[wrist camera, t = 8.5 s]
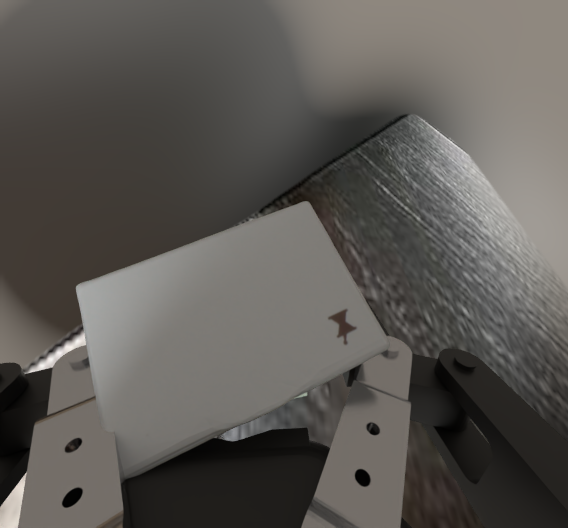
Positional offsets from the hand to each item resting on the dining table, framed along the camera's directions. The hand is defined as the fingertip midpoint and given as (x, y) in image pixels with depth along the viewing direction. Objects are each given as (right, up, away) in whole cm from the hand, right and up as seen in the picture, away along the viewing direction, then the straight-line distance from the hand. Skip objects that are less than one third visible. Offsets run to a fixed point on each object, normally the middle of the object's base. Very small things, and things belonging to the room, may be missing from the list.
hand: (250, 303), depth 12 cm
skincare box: (0, -4, +5) cm, 6 cm away
